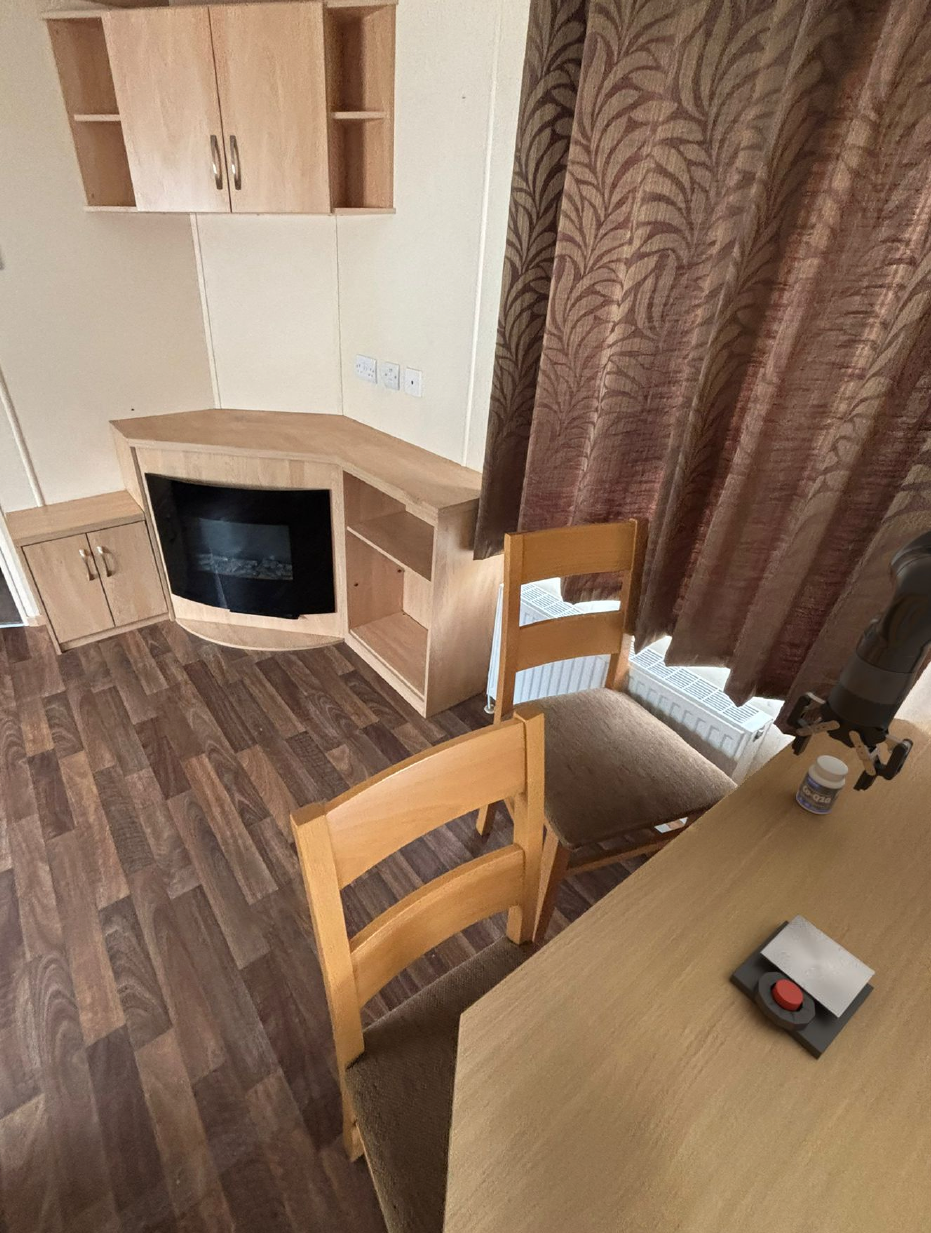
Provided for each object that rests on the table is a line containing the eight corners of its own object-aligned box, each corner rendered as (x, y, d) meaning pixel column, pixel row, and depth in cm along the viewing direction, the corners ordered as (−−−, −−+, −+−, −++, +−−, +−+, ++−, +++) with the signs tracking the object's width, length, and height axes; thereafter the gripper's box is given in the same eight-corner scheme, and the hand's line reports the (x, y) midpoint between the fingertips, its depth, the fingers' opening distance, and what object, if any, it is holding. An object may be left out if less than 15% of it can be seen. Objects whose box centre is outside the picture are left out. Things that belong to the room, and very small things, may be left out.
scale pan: (797, 915, 76) (798, 913, 76) (874, 974, 70) (875, 972, 70) (759, 954, 72) (760, 952, 72) (837, 1019, 66) (838, 1017, 66)
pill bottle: (791, 803, 95) (809, 764, 90) (800, 787, 98) (819, 748, 93) (825, 820, 92) (846, 781, 88) (834, 803, 95) (855, 764, 90)
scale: (782, 926, 78) (790, 912, 76) (869, 994, 71) (879, 980, 69) (722, 986, 72) (729, 972, 70) (811, 1068, 65) (821, 1054, 63)
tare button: (779, 981, 70) (784, 974, 69) (803, 1001, 68) (807, 994, 67) (767, 995, 68) (771, 988, 68) (791, 1015, 66) (795, 1009, 66)
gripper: (946, 702, 79) (892, 789, 88) (830, 650, 89) (792, 732, 98) (921, 724, 76) (867, 812, 84) (803, 667, 86) (766, 751, 95)
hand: (827, 769), depth 91 cm, fingers open, 8 cm apart
